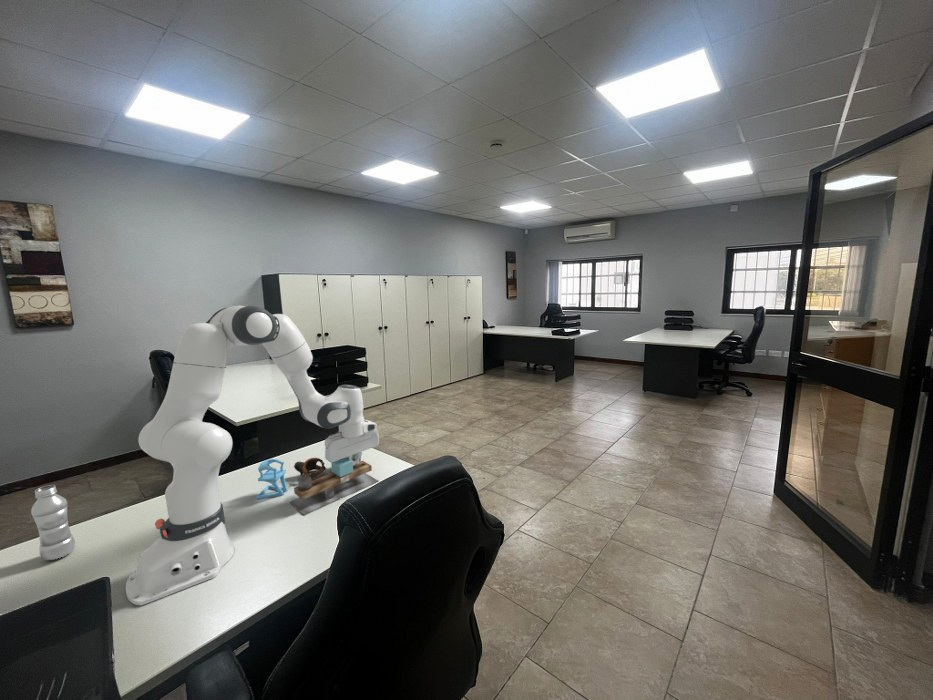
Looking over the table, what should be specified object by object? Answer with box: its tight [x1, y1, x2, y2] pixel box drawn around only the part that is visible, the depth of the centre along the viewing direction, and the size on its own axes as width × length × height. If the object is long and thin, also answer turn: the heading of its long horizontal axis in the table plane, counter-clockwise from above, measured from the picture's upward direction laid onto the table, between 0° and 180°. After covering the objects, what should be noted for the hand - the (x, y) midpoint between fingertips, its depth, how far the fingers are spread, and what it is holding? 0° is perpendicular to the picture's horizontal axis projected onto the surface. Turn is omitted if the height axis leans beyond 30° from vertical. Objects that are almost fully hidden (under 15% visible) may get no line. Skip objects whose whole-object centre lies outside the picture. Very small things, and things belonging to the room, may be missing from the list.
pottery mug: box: [293, 457, 327, 481], centre depth 144 cm, size 12×10×8 cm
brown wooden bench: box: [289, 460, 380, 516], centre depth 133 cm, size 28×11×9 cm, turn 137°
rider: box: [330, 458, 353, 477], centre depth 135 cm, size 5×6×7 cm
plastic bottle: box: [30, 484, 76, 561], centre depth 102 cm, size 6×7×20 cm
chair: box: [256, 458, 289, 500], centre depth 133 cm, size 8×8×12 cm
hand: (354, 464), depth 138 cm, fingers closed
